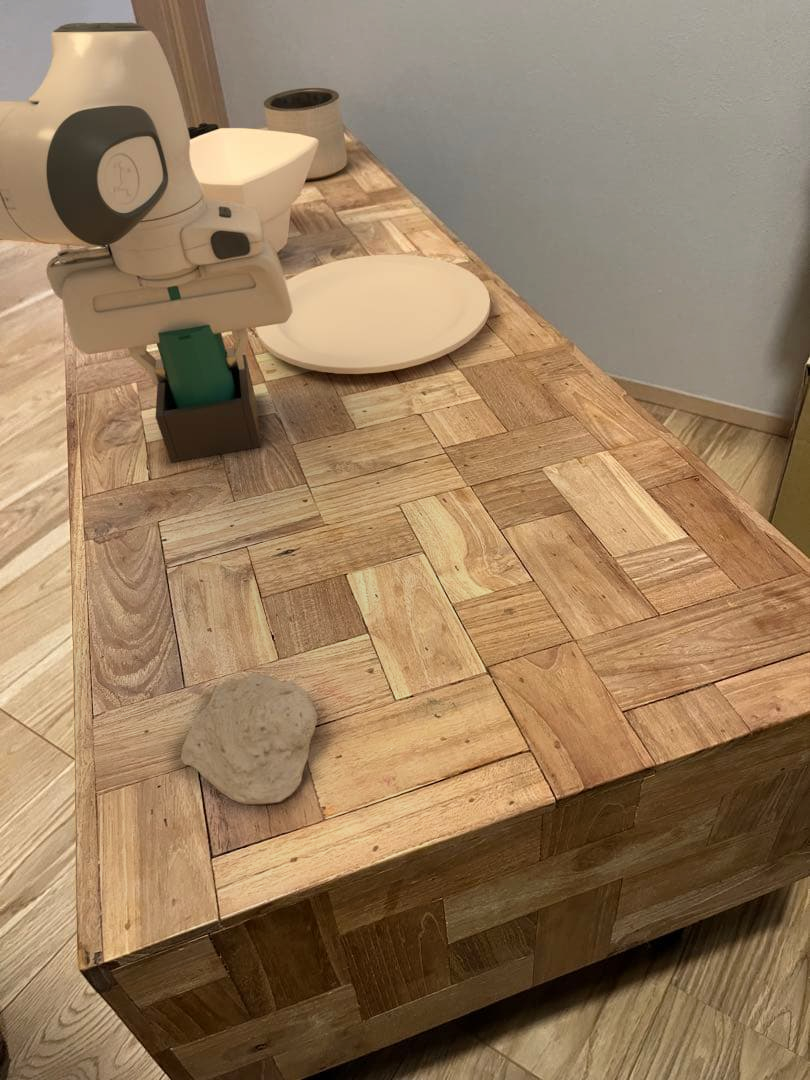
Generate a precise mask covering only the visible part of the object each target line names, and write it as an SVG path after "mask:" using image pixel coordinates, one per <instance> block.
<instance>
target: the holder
mask: <svg viewBox="0 0 810 1080" xmlns="http://www.w3.org/2000/svg"><path fill="white" fill-rule="evenodd" d="M242 356H243V361H244V369H243V370H237V371H231V373H232V377H233V381H234V385H235V389H236V393H237V397H238V399H232V400H226V401H221V402H215V403H209V404H203V405H197V406H191V407H185V408H179V409H177V407H176V404H175V401H174V398H173V394H172V391H171V388H170V385H169V382H165V383H160V384H156V399H155V400H156V401H155V416H154V417H155V420H156V423H157V426H158V429H159V432H160V435H161V438H162V441H163V444H164V447H165V449H166V452H167V455H168V458H169V461H170V464H171V463H178V462H184V461H189V460H195V459H201V458H206V457H211V456H217V455H223V454H228V453H234V452H240V451H245V450H252V449H256V448H261V447H262V444H261V436H260V435H261V434H260V424H259V416H258V415H259V414H258V406H257V397H256V394H255V389H254V385H253V381H252V376H251V373H250V372H251V371H250V368H249V364H248V360H247V355H246V354H242Z"/></svg>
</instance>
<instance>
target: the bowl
mask: <svg viewBox="0 0 810 1080" xmlns="http://www.w3.org/2000/svg"><path fill="white" fill-rule="evenodd" d="M318 144H319V142H318V140H317V139H316V138H313V137H309V136H305V135H301V134H295V133H286V132H277V131H268V129H267V130H266V129H256V128H246V127H221V128H219V129H217V130H214V131H212V132H209V133H206V134H203V135H200V136H198V137H196V138H193V139H191V140H190V160H191V165H192V168H193V171H194V173H195V175H196V177H197V179H198V181H199V183H200V185H201V187H202V190H203V194H204V198H209V199H214V200H220V201H226V202H232V203H238V204H245V205H249V206H252V207H254V208H255V209H256V210H257V212H258V214H259V216H260V218H261V221H262V225H263V230H264V237H265V238H267V239H268V240H269V241H270V242H271V244H272V245H273V247H274V248H275V250H276V253H277V254H278V253H279V252H281V251H282V250H283V249H284V248H285V246H286V245H287V244H288V237H289V228H290V221H291V211H292V205H293V204H294V203H295V202H296V201H297V199H299V198H300V196H301V194H302V191H303V189H304V185H305V182H306V181H305V180H306V177H307V174H308V172H309V169H310V166H311V163H312V161H313V158H314V155H315V152H316V150H317V147H318Z"/></svg>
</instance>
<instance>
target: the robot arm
mask: <svg viewBox="0 0 810 1080" xmlns="http://www.w3.org/2000/svg"><path fill="white" fill-rule="evenodd" d="M50 43H51V51H52V59H51V62H50V66H49V69H48V70H47V73H46V75H45V77H44V79H43V81H42V82H41V84H40V86H39V87H38V88H37V90H36V91H35V92H34V93H33V94H32V95H31V96H29V97H28V99H27V100H28V101H25V100H23V101H22V100H21V101H20V100H0V241H13V242H21V243H23V242H25V243H33V244H46V245H61V246H72V247H73V246H74V247H79V248H75V249H73V248H67V249H63V250H60V251H57V255H55V256H54V257H52V258H51V259H50V260H49V261H48V262H47V266H46V269H45V270H46V277H47V280H48V281H49V284H50V287H51V289H52V291H53V293H54V294H55V295H56V297H58V299H60V300H62V304H63V305H62V306H63V310H64V316H65V320H66V323H67V327H68V330H69V334H70V337H71V340H72V343H73V345H74V346H75V348H76V349H78V350H79V351H81V352H82V353H84V354H85V355H95V354H101V353H107V352H114V351H119V350H126V349H128V351H129V354H130V357H131V358H132V359H133V360H134V361H135V362H137V363H138V364H139V365H140V366H141V367H143V368H144V369H145V370H146V371H148V373H149V376H150V379H151V382H152V384H153V385H157V384H160V383H165V382H169V381H168V378H167V375H166V372H165V368H164V366H163V363H162V359H161V358H160V359H156V358H155V357H154V356H153V355H152V354H151V353H150V352H149V351H148V350H147V347H148V346H150V345H155V344H156V345H157V343H159V336H158V333H162V332H168V331H174V330H180V329H187V328H193V327H199V326H205V325H210V327H211V330H212V332H213V333H214V334H218V333H222V334H223V333H229V332H231V333H232V338H233V340H234V344H233V347H227V348H225V349H226V360H227V364H228V368H229V371H230V372H231V371H237V370H243V369H244V361H243V356H242V355H244V351H245V348H246V346H247V343H248V341H249V331H248V330H249V329H255V327H261V326H268V325H274V324H280V323H285V322H287V321H288V319H289V318H290V316H291V314H292V312H293V309H292V303H291V298H290V294H289V290H288V286H287V282H286V281H287V278H286V276H285V272H284V269H283V266H282V263H281V260H280V257H279V255H278V253H276V250H275V248H274V247H273V245H272V244H271V242H270V241H269V240H268V239H267V238H265V237H264V230H263V225H262V221H261V218H260V216H259V214H258V212H257V210H256V209H255V208H254V207H252V206H249V205H245V204H238V203H232V202H226V201H220V200H214V199H209V198H204V194H203V190H202V187H201V185H200V183H199V181H198V179H197V177H196V175H195V173H194V171H193V168H192V165H191V160H190V137H189V132H188V128H189V127H188V125H187V120H186V117H185V116H186V115H185V113H184V108H183V105H182V101H181V97H180V93H179V91H178V88H177V84H176V81H175V78H174V75H173V72H172V70H171V66H170V64H169V62H168V59H167V57H166V55H165V53H164V50H163V48H162V46H161V44H160V42H159V40H158V38H157V37H156V35H155V34H154V32H153V31H151V30H150V29H148V28H147V27H145V26H144V25H142V24H140V23H136V22H74V23H71V22H70V23H67V24H63V25H60V26H58V28H56V29H54V30H53V31H52V32H51V34H50ZM80 247H81V248H80ZM173 286H178V289H179V292H180V296H181V299H178V300H170V297H169V293H168V290H167V288H168V287H173Z"/></svg>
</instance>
